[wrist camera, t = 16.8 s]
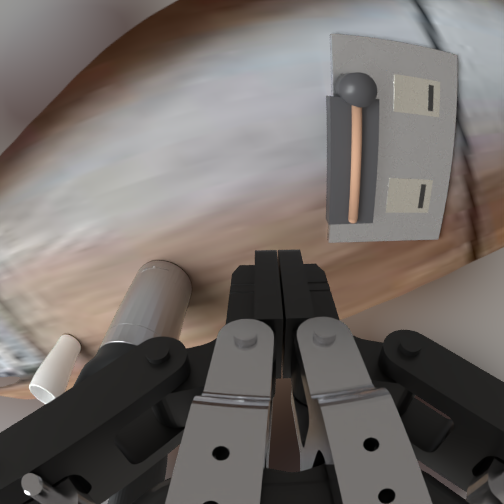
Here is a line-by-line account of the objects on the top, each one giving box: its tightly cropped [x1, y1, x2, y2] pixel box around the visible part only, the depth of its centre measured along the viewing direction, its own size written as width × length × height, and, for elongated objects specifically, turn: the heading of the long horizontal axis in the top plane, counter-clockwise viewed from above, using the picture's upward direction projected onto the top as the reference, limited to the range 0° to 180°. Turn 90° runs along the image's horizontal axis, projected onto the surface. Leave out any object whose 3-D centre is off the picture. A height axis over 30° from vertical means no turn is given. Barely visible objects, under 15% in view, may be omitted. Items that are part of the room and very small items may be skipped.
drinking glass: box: [29, 334, 81, 404], centre depth 51 cm, size 7×7×15 cm
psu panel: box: [328, 34, 457, 243], centre depth 37 cm, size 28×18×1 cm, turn 3°
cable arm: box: [326, 72, 379, 225], centre depth 35 cm, size 19×6×4 cm, turn 4°
